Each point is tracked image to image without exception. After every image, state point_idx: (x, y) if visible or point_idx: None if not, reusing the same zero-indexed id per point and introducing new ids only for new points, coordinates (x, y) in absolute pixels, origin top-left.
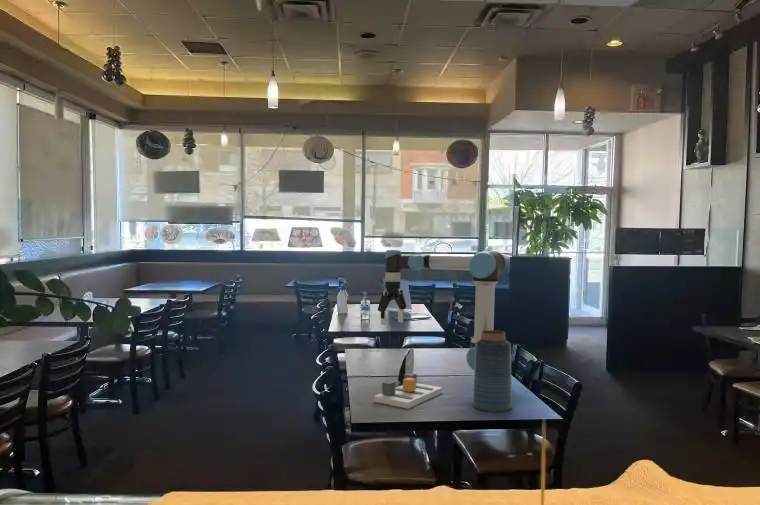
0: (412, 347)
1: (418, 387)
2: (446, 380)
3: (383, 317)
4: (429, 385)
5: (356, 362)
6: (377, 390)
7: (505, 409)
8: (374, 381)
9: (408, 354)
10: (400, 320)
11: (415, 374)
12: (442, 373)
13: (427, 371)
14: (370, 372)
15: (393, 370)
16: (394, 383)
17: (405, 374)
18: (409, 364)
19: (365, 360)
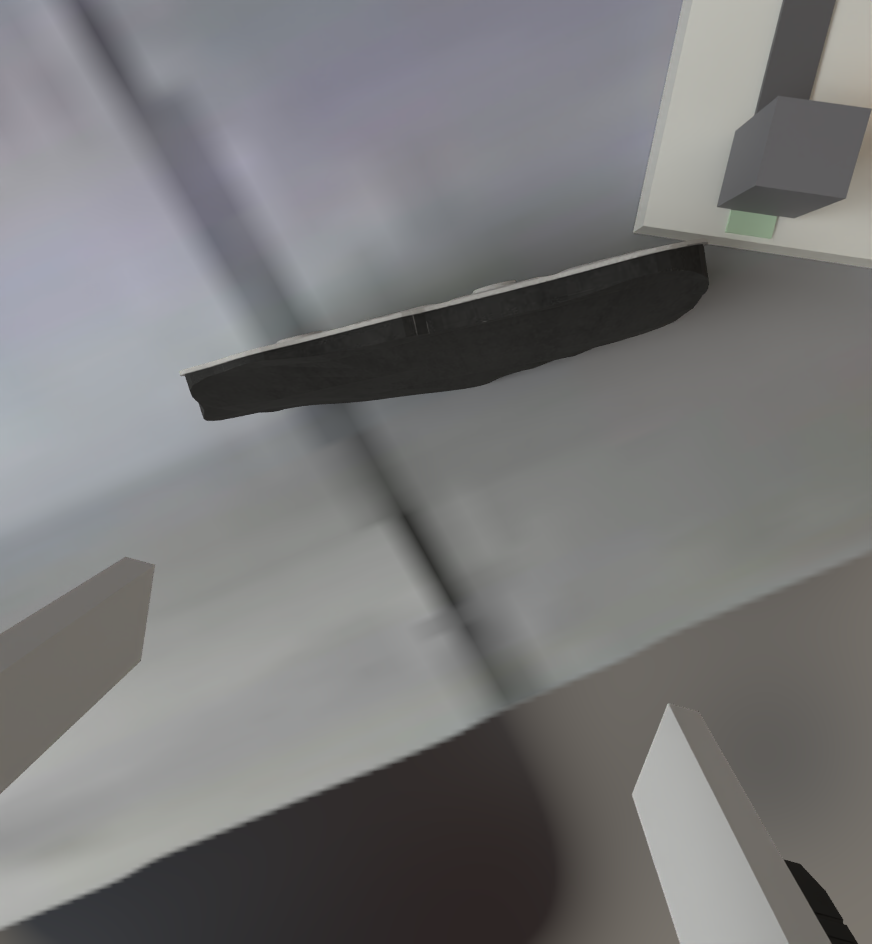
0: (246, 351)
1: (816, 75)
2: (301, 49)
3: (797, 883)
4: (690, 25)
5: (160, 827)
6: (809, 413)
7: None
8: (580, 530)
9: (489, 300)
10: (130, 619)
11: (797, 98)
12: (110, 171)
13: (118, 305)
14: (361, 650)
15: (227, 538)
16: None
17: (835, 187)
18: (508, 284)
19: (77, 801)
